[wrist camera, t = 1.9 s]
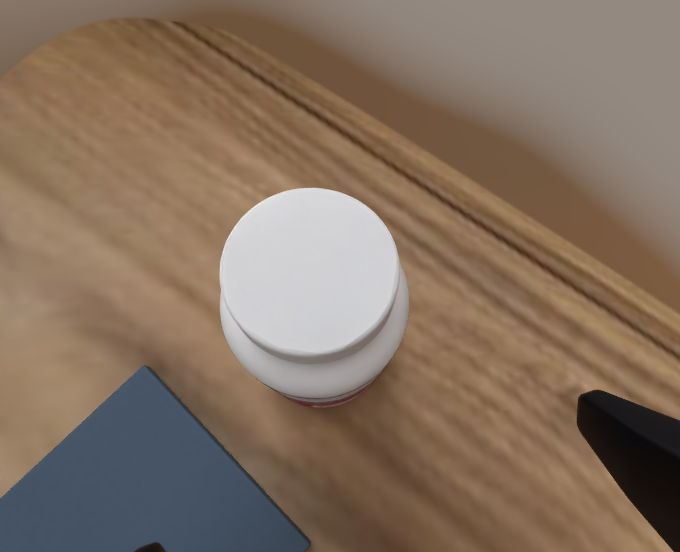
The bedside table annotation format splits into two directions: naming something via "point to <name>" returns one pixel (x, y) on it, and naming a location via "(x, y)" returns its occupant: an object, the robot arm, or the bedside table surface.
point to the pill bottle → (313, 295)
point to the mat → (142, 486)
